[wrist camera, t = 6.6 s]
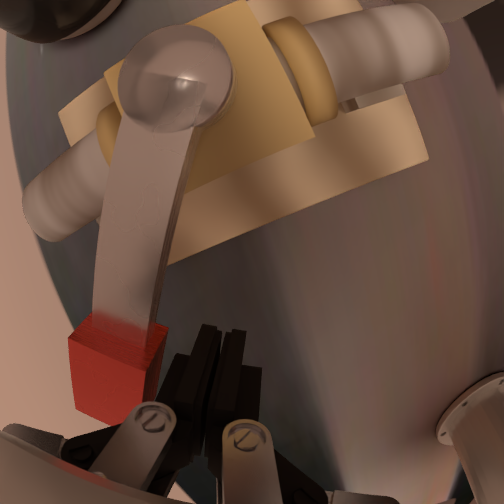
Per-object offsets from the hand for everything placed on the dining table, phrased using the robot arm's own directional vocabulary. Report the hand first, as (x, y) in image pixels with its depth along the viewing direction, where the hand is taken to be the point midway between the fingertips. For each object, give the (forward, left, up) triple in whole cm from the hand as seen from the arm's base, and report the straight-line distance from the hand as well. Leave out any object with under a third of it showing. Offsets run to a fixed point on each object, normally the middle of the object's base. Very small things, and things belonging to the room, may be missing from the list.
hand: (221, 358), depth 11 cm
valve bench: (-3, -9, -11) cm, 15 cm away
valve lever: (0, -5, 0) cm, 5 cm away
